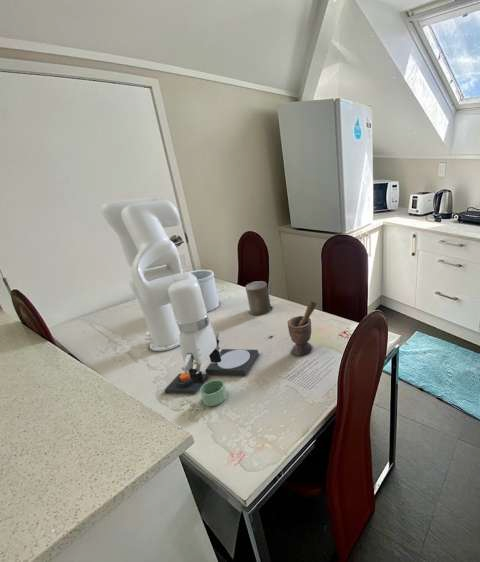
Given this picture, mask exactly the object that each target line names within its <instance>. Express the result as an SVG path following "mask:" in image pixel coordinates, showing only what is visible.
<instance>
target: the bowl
mask: <svg viewBox="0 0 480 562" xmlns="http://www.w3.org/2000/svg"><path fill="white" fill-rule="evenodd" d="M199 393H200V396H201V400H202V403H203V405H204V406H206V407H215V406H218V405H221V403H223V402H224V401H225V400H226V398H227V397H228V393H227V389H226V385H225V382H224V380H222V379H212V380H209V381H207V382H204V383H203V384H202V385H201V387H200V388H199Z"/></svg>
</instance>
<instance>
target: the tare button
mask: <svg viewBox="0 0 480 562" xmlns="http://www.w3.org/2000/svg"><path fill="white" fill-rule="evenodd" d="M180 374H181V375H180V380H181V381H183V382H184V381H187V380H189V379H190V375H189V374H188V373H185V372H183V373H180Z"/></svg>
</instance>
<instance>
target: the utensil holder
mask: <svg viewBox="0 0 480 562" xmlns="http://www.w3.org/2000/svg"><path fill="white" fill-rule="evenodd" d="M188 272H189V273H191V274H193V275H194V276H195V277H196V278H197V280H198V283H199V286H200V289H201V293H202V296H203V300H204V304H205V308H206V311H207V313H208V312H211V311H213V310H215V309H217V308H218V307H219V305H220V300H219V295H218V294H219V293H218V289H217V285H216V281H215V273H214V271H213V270H211V269H196V270H191V271H188Z"/></svg>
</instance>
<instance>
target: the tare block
mask: <svg viewBox="0 0 480 562" xmlns="http://www.w3.org/2000/svg"><path fill="white" fill-rule="evenodd" d="M181 374H182V373H178V374H177V375H176V377H175V378H174V379H173V380H172V381H171V382H170V383H169V384H168V385H167V387H165V389H164V393H165V394H185V395H187V394H188V395H189V394H191V395H195V394H196V393H197V392H198V391H199V390H200V388H201V387H202V386H203V384H196V383H193V382H192V378H191V375H190V374H189V375H190V379H189V380H187V381H184V382H183V381H181V380H180V375H181ZM202 375H203V378H204V383H206V380H207V379H208V378H209V375H207V373H202Z"/></svg>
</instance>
